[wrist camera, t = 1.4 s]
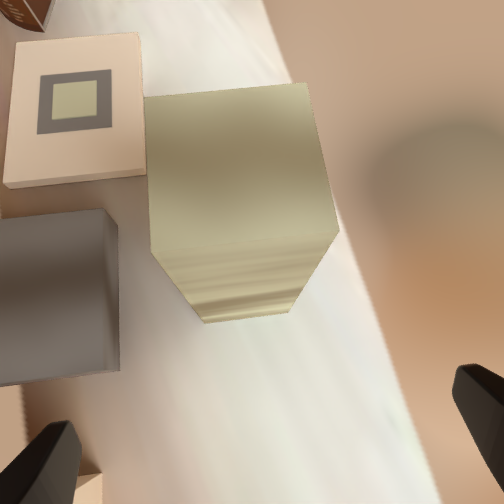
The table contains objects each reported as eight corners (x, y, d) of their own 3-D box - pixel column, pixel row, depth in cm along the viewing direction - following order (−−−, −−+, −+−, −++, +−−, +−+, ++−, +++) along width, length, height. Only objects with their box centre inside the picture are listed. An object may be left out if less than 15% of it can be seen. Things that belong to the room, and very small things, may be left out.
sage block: (287, 312, 22) (339, 230, 10) (204, 323, 22) (150, 252, 10) (275, 235, 24) (306, 82, 11) (197, 245, 23) (143, 97, 11)
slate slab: (122, 370, 21) (103, 369, 19) (-40, 392, 21) (-84, 394, 18) (119, 227, 24) (103, 208, 21) (-22, 243, 24) (-59, 225, 21)
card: (146, 174, 25) (142, 166, 24) (10, 189, 25) (0, 181, 24) (140, 41, 29) (136, 29, 28) (22, 51, 28) (14, 40, 27)
